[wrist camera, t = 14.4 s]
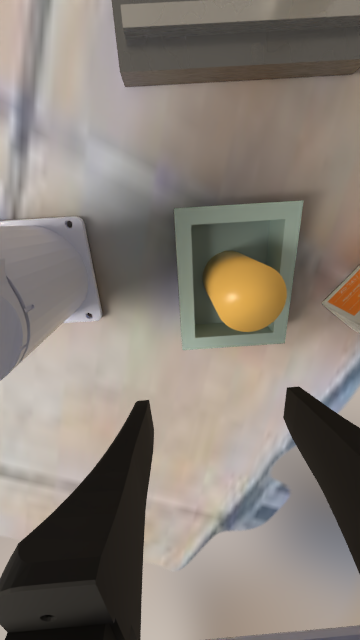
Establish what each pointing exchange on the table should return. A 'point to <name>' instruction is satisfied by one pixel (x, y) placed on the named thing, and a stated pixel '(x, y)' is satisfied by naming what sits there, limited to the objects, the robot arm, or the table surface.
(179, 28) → the box
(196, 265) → the green rectangular tray
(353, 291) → the skincare box
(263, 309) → the cap
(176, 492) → the table surface
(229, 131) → the table surface
